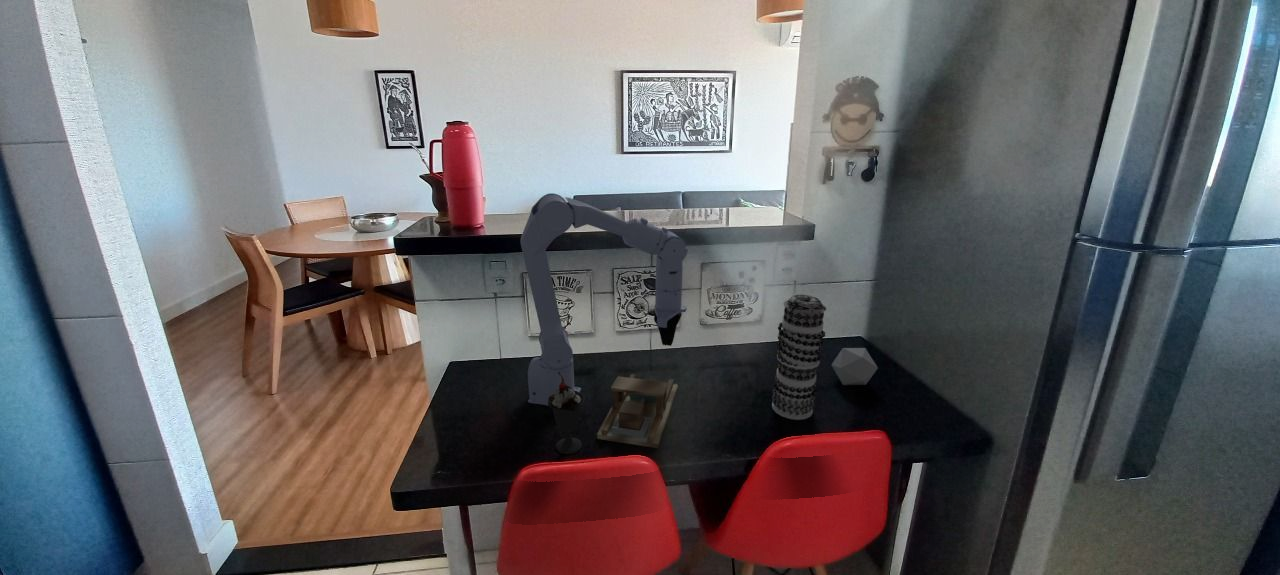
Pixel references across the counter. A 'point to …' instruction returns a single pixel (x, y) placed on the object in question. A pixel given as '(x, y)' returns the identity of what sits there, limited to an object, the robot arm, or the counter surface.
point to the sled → (645, 423)
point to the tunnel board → (651, 409)
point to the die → (854, 366)
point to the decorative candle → (798, 356)
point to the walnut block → (631, 415)
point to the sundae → (566, 416)
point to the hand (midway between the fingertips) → (667, 344)
